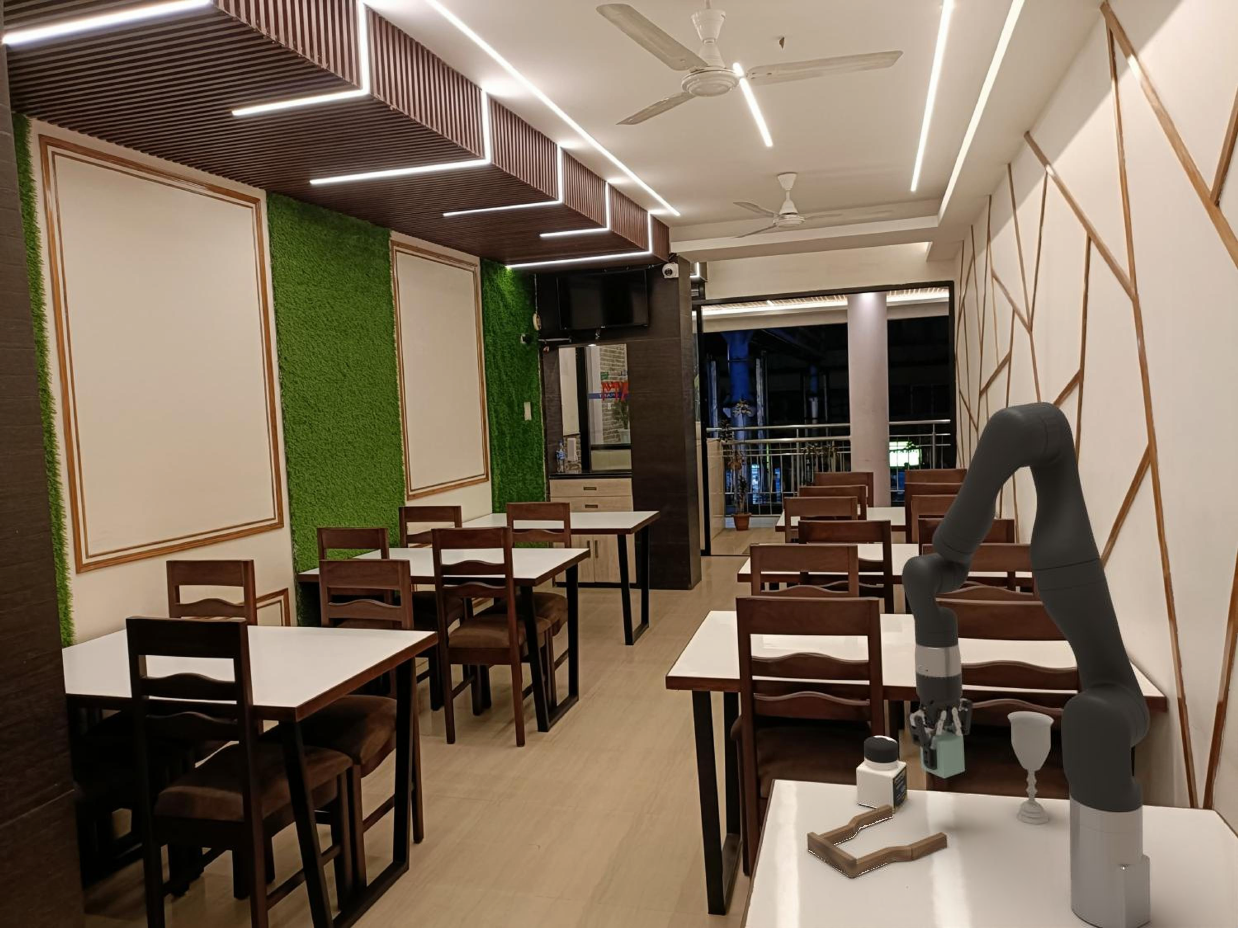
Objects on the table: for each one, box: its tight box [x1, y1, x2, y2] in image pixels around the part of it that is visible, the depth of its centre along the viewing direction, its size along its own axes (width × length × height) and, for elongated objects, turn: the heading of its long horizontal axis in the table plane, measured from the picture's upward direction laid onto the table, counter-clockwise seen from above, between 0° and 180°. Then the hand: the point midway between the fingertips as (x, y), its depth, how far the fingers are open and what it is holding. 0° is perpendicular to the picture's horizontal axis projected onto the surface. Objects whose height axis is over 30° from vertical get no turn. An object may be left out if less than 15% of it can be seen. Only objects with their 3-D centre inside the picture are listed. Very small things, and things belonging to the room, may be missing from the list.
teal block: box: [919, 729, 966, 779], centre depth 153 cm, size 5×5×6 cm
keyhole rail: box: [806, 804, 948, 879], centre depth 149 cm, size 13×20×3 cm
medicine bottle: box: [855, 735, 908, 814], centre depth 165 cm, size 7×7×12 cm
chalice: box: [1007, 711, 1054, 825], centre depth 156 cm, size 7×7×18 cm
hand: (942, 763), depth 153 cm, fingers closed on teal block, 5 cm apart
